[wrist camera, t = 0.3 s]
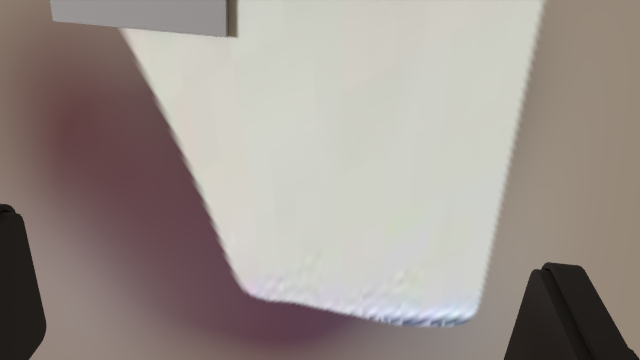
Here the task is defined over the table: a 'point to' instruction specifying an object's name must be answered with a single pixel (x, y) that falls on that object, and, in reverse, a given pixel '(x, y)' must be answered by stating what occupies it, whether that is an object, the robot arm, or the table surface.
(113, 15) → the rubber pad
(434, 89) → the table surface
